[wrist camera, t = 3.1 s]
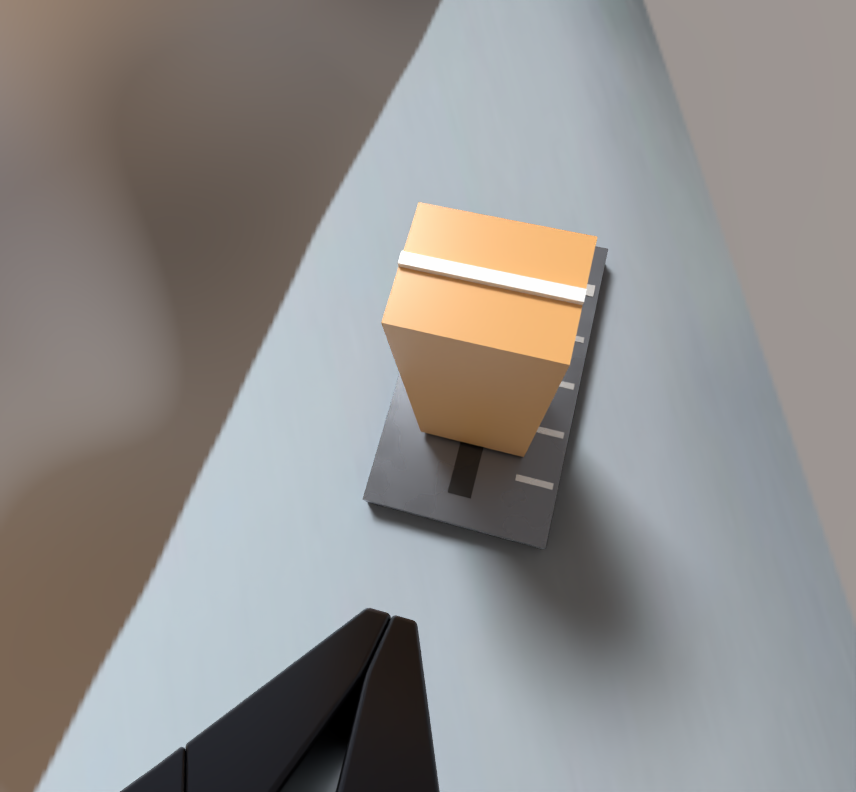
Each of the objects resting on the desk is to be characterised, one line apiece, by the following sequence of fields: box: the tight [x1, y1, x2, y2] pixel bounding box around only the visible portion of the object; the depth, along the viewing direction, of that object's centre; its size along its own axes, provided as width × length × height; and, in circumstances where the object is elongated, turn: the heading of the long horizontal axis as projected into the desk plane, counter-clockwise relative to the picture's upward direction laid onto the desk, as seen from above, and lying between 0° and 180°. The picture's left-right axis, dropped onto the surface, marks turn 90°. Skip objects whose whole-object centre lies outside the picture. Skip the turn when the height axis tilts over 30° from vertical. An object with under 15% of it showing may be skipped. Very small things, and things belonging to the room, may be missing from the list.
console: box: [363, 246, 608, 549], centre depth 24 cm, size 12×7×1 cm, turn 165°
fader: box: [381, 202, 597, 457], centre depth 17 cm, size 3×4×11 cm
